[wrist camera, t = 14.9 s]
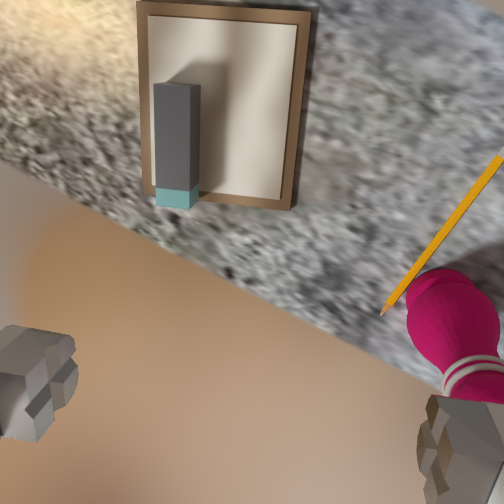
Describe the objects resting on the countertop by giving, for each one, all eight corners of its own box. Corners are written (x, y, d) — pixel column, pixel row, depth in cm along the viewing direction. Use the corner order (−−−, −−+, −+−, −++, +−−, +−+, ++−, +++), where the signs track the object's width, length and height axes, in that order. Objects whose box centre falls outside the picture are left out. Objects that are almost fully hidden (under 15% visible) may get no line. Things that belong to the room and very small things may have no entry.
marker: (200, 84, 37) (190, 86, 34) (198, 199, 41) (189, 209, 38) (166, 81, 37) (153, 83, 35) (167, 195, 41) (156, 205, 39)
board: (311, 12, 34) (311, 11, 33) (290, 209, 41) (289, 211, 40) (139, 1, 36) (135, 0, 35) (145, 192, 42) (142, 194, 42)
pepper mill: (403, 262, 41) (459, 423, 23) (487, 264, 40) (616, 435, 22) (397, 328, 44) (442, 518, 26) (475, 332, 43) (581, 534, 24)
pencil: (516, 142, 36) (519, 144, 35) (382, 316, 44) (383, 320, 43) (507, 137, 36) (510, 139, 35) (375, 312, 44) (376, 316, 43)
